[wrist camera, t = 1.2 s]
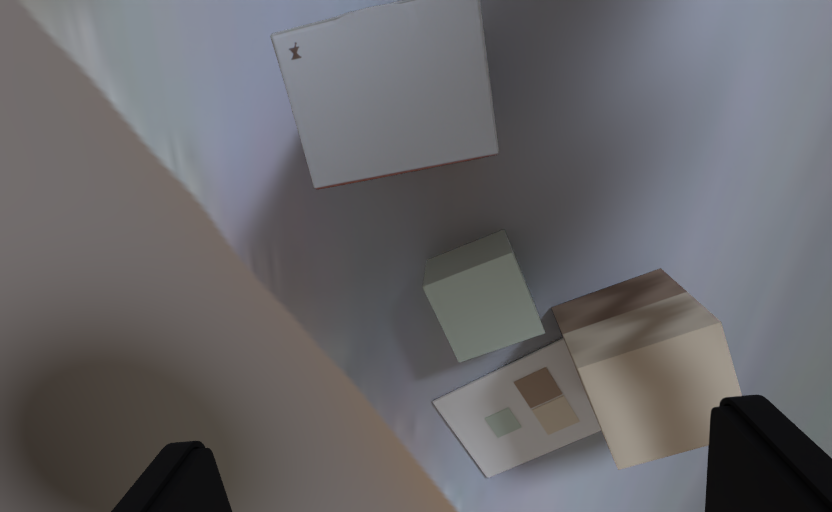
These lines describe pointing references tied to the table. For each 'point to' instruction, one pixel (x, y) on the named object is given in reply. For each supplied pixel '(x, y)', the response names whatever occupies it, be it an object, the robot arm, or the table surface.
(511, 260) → the sage brick
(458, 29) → the small box
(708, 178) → the table surface
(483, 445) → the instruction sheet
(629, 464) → the wood-grain cube
